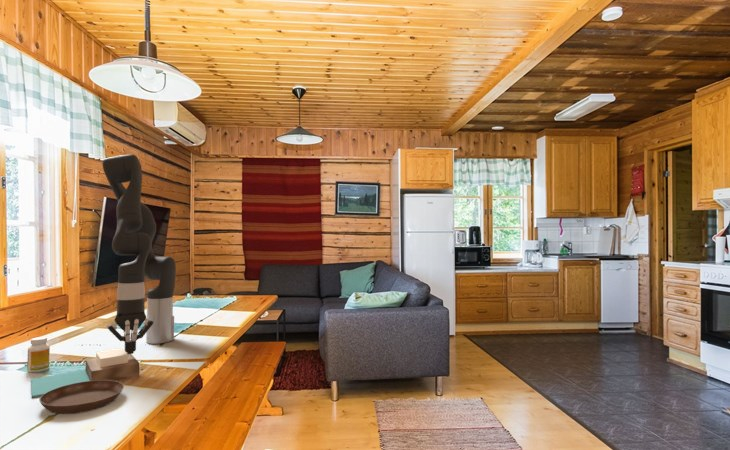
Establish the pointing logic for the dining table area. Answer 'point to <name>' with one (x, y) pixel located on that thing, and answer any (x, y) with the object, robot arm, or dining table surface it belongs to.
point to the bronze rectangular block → (112, 370)
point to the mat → (56, 382)
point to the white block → (111, 357)
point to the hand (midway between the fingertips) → (130, 353)
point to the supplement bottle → (38, 355)
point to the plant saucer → (81, 396)
